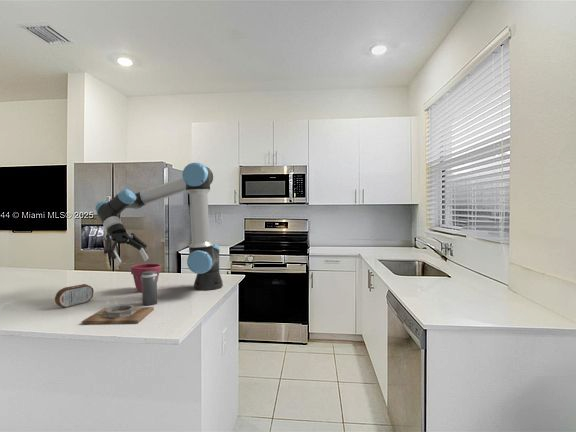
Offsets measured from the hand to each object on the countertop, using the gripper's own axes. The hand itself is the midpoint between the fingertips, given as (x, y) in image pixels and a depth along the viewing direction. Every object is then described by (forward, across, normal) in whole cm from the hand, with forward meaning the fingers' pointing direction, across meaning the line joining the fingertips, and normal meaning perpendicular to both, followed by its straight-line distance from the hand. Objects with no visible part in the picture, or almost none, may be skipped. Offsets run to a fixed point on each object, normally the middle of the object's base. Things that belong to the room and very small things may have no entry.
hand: (133, 261), depth 148 cm
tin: (+2, +18, -24) cm, 30 cm away
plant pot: (+4, -15, -21) cm, 26 cm away
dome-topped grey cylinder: (+20, 0, -5) cm, 21 cm away
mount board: (+24, +17, -1) cm, 29 cm away
